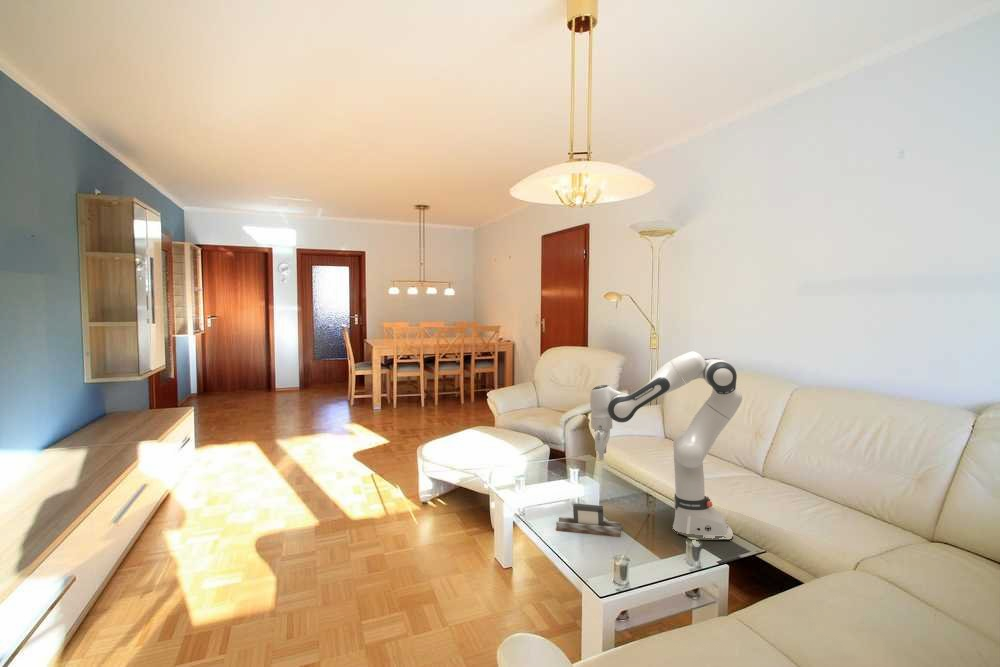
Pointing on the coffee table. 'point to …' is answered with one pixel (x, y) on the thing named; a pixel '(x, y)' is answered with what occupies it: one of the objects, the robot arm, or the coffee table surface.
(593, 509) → the frame
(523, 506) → the coffee table surface
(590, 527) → the ledge
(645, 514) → the coffee table surface
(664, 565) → the coffee table surface
